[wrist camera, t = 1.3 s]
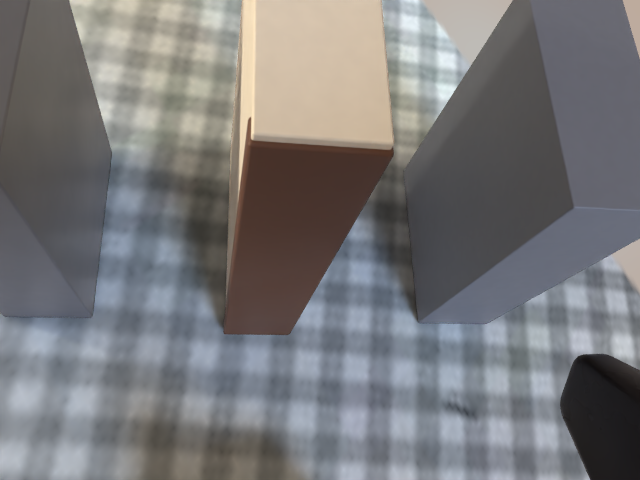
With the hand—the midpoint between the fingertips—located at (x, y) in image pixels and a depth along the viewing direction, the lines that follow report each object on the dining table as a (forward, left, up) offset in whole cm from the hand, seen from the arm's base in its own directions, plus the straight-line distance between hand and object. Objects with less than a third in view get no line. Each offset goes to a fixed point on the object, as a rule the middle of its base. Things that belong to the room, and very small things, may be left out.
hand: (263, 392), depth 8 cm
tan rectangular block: (+7, -5, -14) cm, 16 cm away
